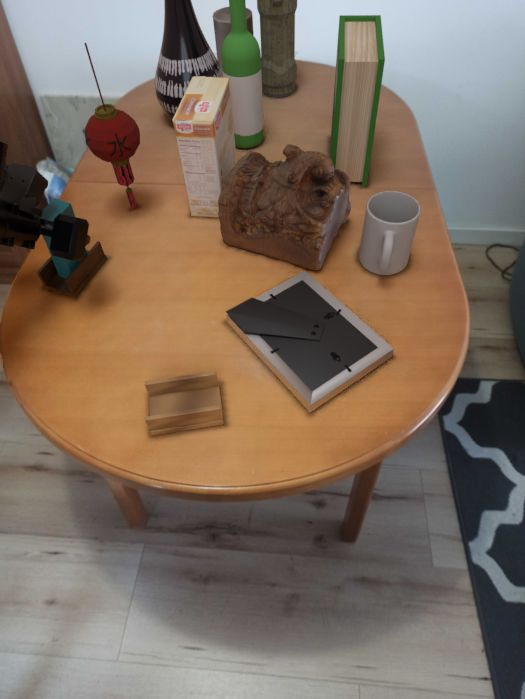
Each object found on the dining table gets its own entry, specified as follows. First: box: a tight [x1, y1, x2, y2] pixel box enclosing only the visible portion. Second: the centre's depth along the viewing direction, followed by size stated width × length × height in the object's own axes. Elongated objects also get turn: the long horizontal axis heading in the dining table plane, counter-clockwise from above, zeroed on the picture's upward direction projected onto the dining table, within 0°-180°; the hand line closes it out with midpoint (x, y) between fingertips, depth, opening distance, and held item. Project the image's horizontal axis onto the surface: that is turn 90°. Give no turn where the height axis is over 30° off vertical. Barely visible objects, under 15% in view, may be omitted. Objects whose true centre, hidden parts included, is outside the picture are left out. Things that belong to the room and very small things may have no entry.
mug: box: [358, 190, 421, 276], centre depth 83 cm, size 12×8×11 cm
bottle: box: [221, 0, 265, 149], centre depth 101 cm, size 8×8×30 cm
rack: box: [36, 240, 108, 298], centre depth 88 cm, size 10×7×4 cm, turn 159°
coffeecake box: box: [171, 76, 238, 219], centre depth 94 cm, size 15×7×20 cm, turn 171°
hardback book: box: [329, 14, 386, 188], centre depth 97 cm, size 18×7×24 cm, turn 174°
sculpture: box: [218, 143, 352, 271], centre depth 89 cm, size 19×18×20 cm
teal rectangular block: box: [41, 197, 87, 279], centre depth 83 cm, size 5×3×13 cm, turn 158°
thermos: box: [256, 0, 298, 99], centre depth 112 cm, size 9×12×35 cm
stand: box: [144, 370, 225, 436], centre depth 70 cm, size 10×7×4 cm, turn 99°
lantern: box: [84, 42, 141, 211], centre depth 88 cm, size 10×10×30 cm
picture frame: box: [225, 270, 395, 414], centre depth 77 cm, size 16×3×21 cm
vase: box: [154, 0, 223, 119], centre depth 108 cm, size 16×16×30 cm
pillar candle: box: [211, 6, 254, 71], centre depth 126 cm, size 10×10×15 cm
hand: (65, 233), depth 84 cm, fingers open, 9 cm apart
